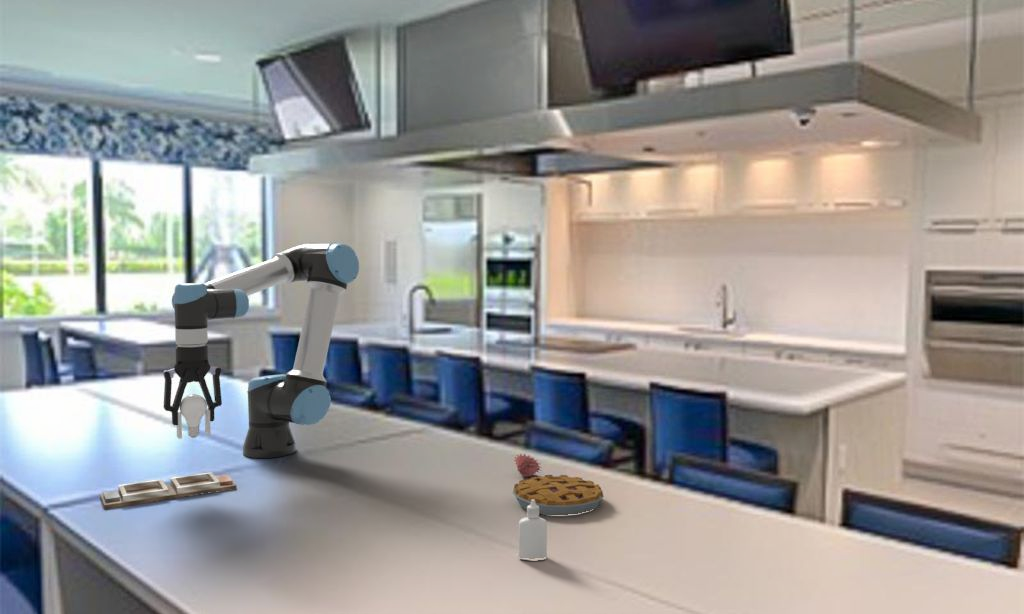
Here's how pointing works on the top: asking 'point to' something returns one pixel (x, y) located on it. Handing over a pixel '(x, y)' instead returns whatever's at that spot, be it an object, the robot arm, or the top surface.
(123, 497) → the socket board
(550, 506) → the pie
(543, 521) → the eye dropper bottle
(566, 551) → the top surface
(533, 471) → the flower
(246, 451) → the robot arm
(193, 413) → the lightbulb
